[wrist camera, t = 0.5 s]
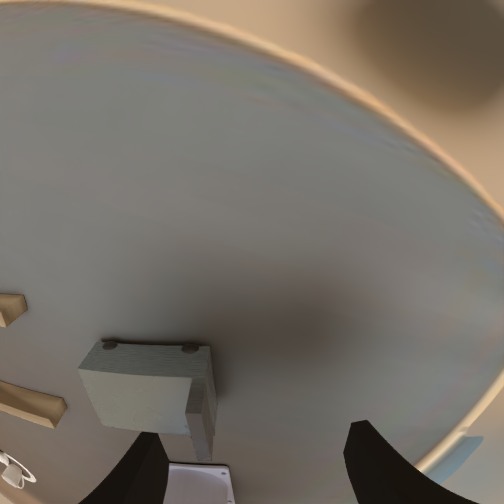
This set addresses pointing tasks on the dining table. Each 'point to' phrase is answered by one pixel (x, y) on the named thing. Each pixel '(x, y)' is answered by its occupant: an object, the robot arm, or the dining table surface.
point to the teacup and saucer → (14, 472)
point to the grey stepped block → (154, 390)
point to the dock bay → (19, 399)
